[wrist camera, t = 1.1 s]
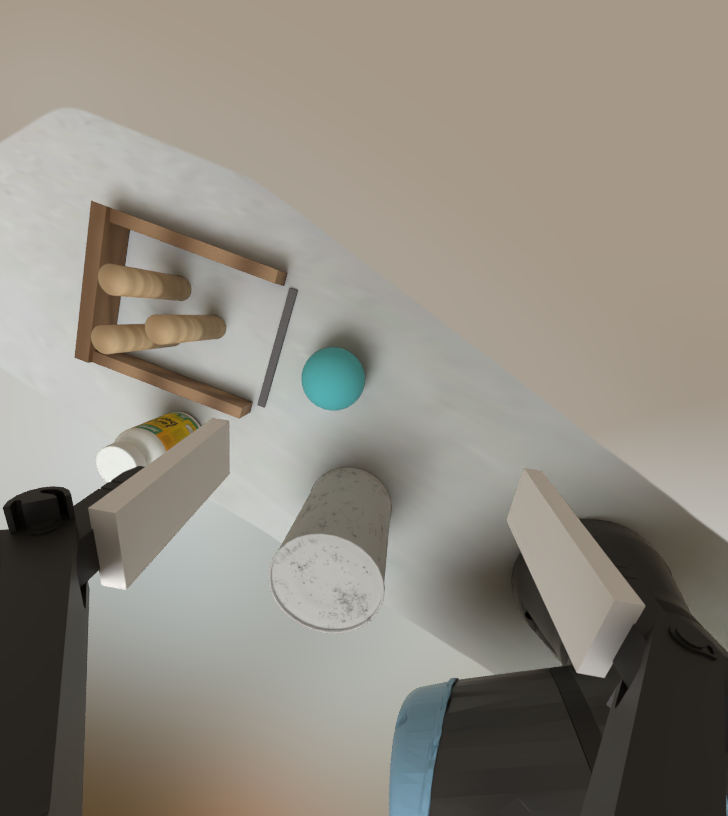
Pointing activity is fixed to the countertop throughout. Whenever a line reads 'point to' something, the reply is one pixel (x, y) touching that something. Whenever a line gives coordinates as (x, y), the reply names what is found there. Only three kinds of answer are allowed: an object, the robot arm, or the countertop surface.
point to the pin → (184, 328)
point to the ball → (333, 378)
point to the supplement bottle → (144, 443)
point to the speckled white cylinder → (335, 554)
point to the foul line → (277, 346)
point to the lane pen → (102, 309)
